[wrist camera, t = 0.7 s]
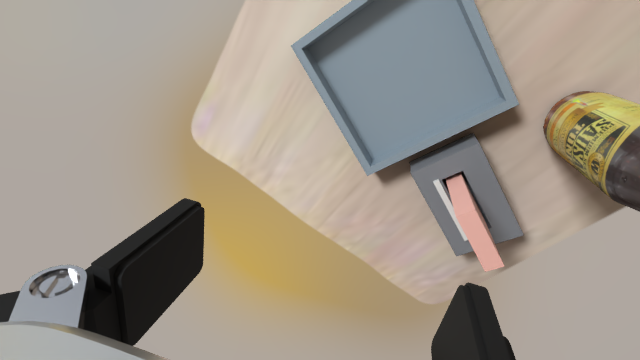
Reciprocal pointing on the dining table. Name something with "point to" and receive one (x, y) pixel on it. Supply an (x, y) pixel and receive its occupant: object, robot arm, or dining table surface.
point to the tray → (404, 74)
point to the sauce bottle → (599, 141)
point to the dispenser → (481, 183)
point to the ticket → (473, 222)
